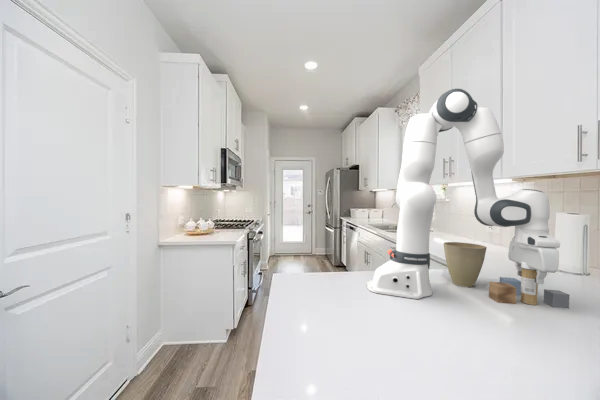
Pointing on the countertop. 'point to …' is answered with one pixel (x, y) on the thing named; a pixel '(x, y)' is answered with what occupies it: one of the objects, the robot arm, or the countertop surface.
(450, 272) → the plant pot
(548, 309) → the countertop surface
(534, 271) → the sprinkles bottle
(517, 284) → the slate blue block
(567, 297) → the charcoal block
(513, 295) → the walnut block
